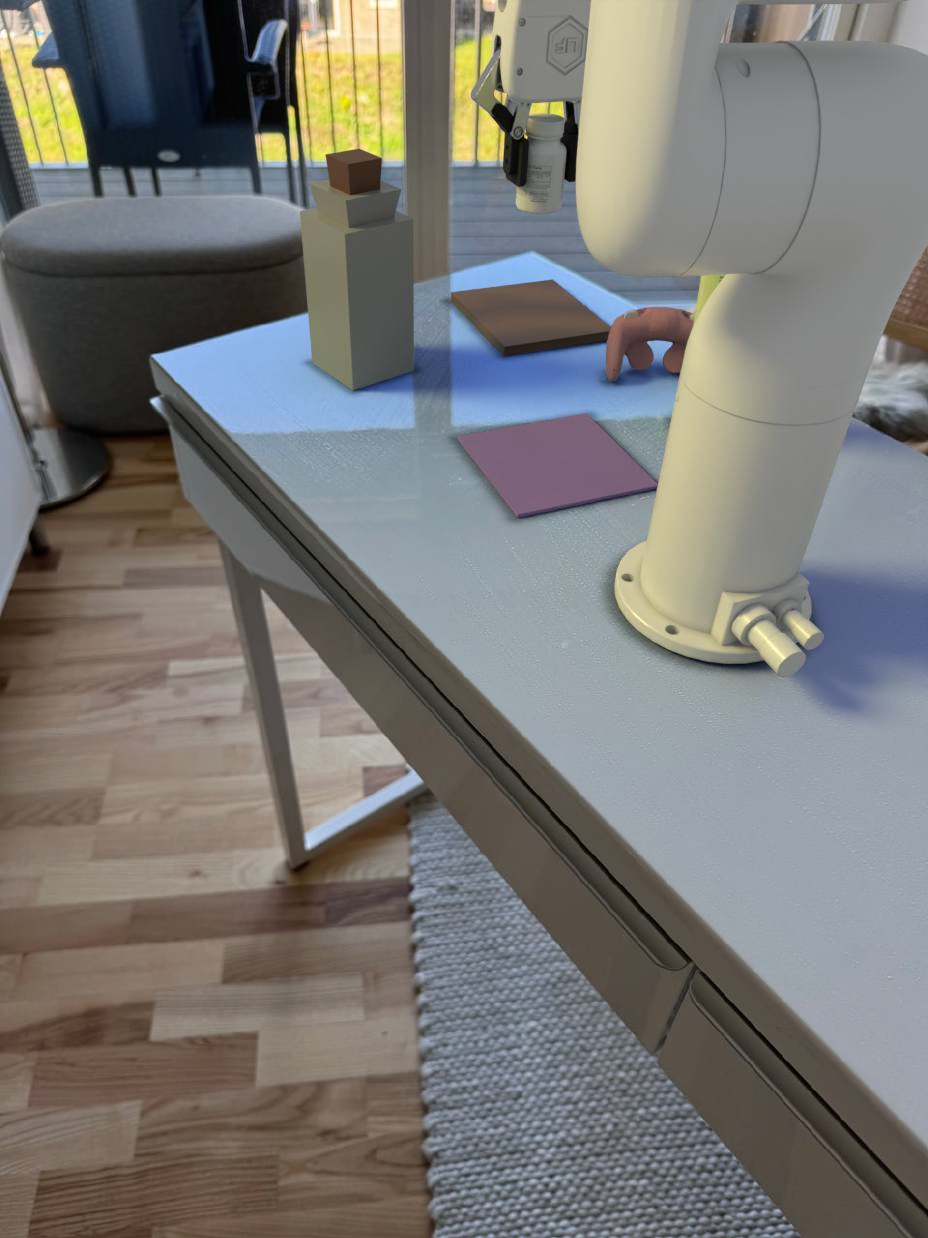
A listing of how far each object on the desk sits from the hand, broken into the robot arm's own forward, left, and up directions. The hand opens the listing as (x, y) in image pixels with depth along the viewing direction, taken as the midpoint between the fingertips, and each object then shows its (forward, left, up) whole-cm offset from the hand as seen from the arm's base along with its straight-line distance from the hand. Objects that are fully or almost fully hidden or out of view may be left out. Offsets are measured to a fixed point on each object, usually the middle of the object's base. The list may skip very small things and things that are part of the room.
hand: (540, 177), depth 85 cm
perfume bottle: (-5, +19, -14) cm, 24 cm away
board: (0, 0, -14) cm, 14 cm away
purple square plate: (-26, +10, -14) cm, 31 cm away
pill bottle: (0, 0, -3) cm, 3 cm away
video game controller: (-15, -6, -14) cm, 21 cm away
